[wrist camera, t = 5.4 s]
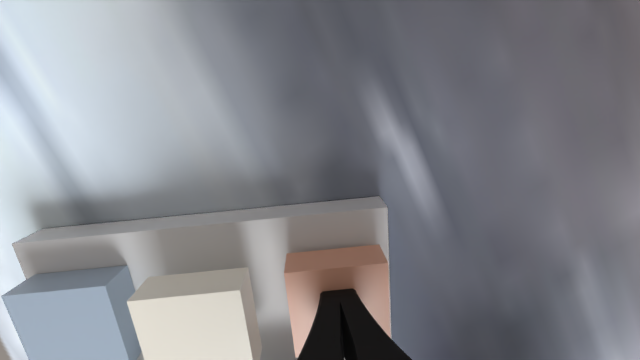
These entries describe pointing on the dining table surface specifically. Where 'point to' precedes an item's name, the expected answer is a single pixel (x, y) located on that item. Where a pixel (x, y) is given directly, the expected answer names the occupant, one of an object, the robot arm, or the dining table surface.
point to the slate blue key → (75, 315)
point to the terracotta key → (335, 284)
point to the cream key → (197, 316)
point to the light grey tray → (216, 250)
